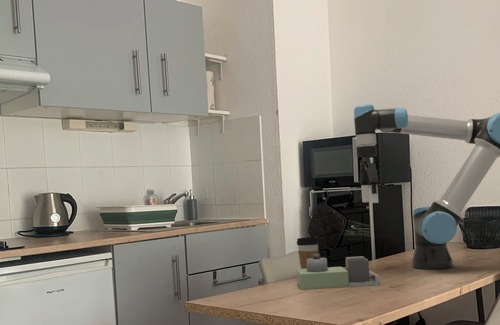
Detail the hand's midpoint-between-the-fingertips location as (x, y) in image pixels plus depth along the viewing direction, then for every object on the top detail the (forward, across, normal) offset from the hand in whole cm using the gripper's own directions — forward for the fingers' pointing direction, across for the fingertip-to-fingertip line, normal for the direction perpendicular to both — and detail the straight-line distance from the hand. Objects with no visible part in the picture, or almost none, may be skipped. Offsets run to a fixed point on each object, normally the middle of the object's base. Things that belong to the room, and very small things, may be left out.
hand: (370, 202), depth 211 cm
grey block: (+27, +16, -10) cm, 33 cm away
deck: (+27, +16, -22) cm, 38 cm away
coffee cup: (+27, -3, -24) cm, 36 cm away
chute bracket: (+27, +16, -10) cm, 33 cm away
